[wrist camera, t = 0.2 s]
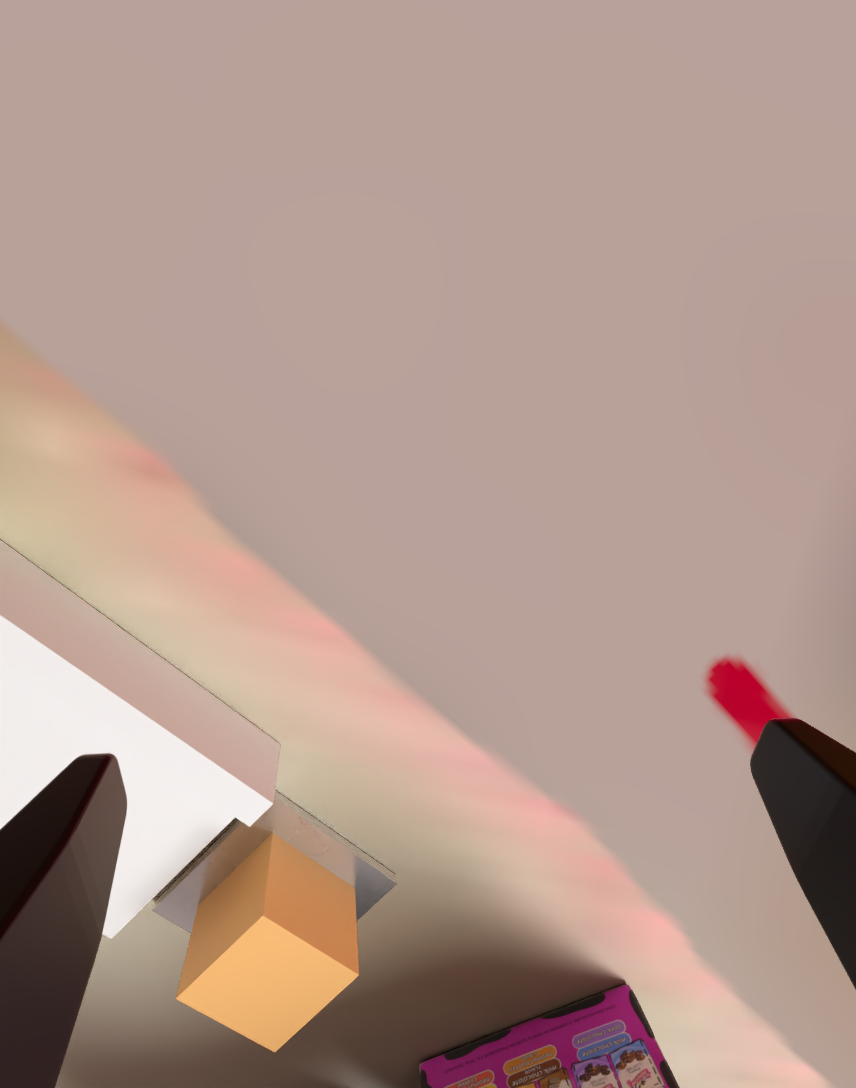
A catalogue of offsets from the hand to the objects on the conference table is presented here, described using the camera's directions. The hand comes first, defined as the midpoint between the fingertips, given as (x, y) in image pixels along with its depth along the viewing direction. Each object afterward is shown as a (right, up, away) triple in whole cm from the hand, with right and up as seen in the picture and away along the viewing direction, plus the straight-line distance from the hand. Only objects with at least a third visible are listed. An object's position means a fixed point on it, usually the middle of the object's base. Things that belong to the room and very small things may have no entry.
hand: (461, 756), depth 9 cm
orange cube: (-7, -12, +18) cm, 22 cm away
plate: (-7, -12, +18) cm, 23 cm away
